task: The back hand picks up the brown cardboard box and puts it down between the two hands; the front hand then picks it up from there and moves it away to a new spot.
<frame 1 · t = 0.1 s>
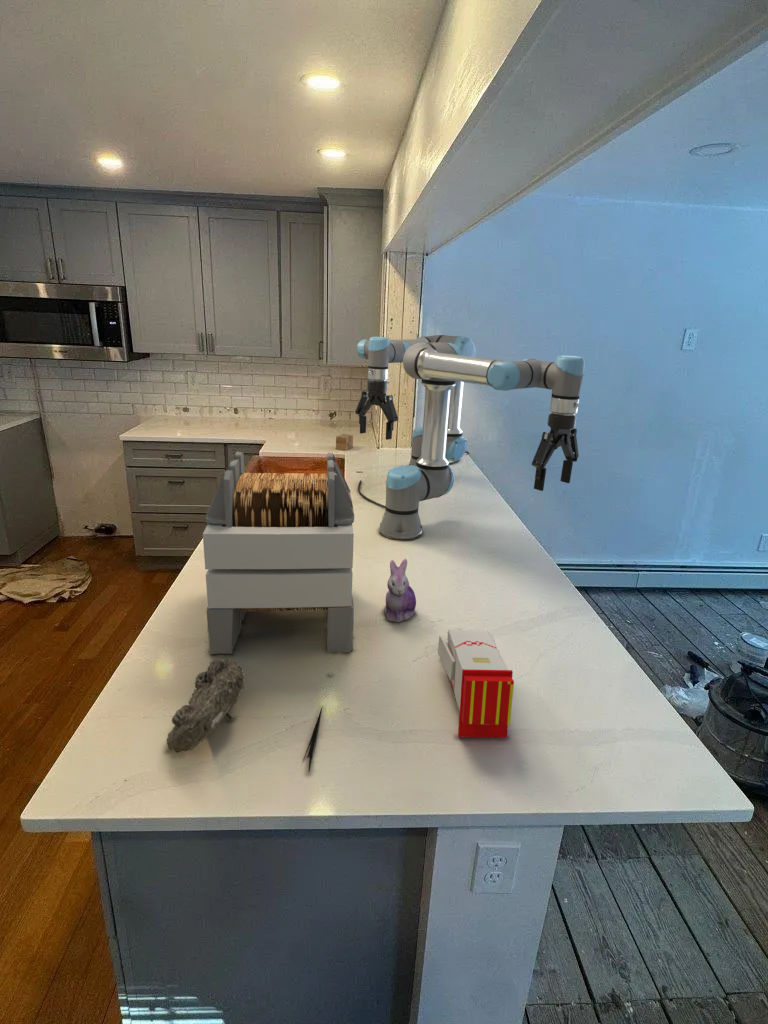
front hand: (552, 485, 166), 28 cm above the counter, tool pointing down, fingers open, 13 cm apart
back hand: (375, 436, 219), 28 cm above the counter, tool pointing down, fingers open, 13 cm apart
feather: (319, 719, 109), on the counter
figurine: (399, 614, 147), on the counter
fossil: (212, 717, 108), on the counter
toy: (469, 691, 119), on the counter
brown cardboard box: (344, 448, 317), on the counter
grey record crate: (285, 616, 144), on the counter
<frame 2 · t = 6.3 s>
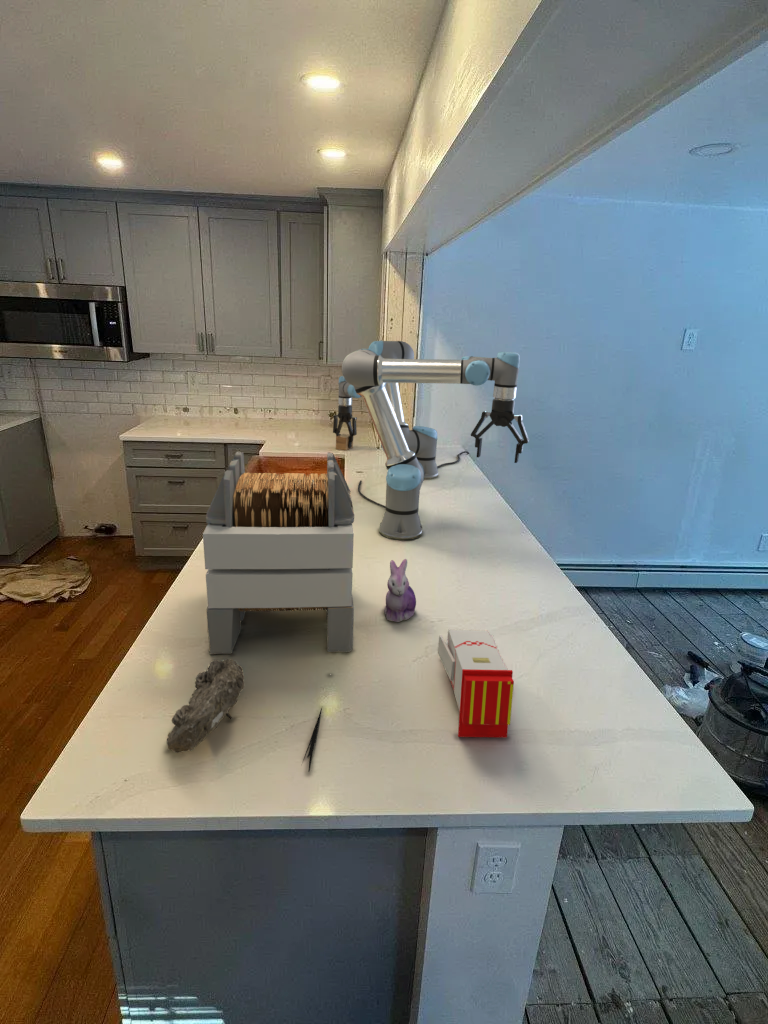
front hand: (497, 459, 201), 26 cm above the counter, tool pointing down, fingers open, 13 cm apart
back hand: (344, 446, 316), 1 cm above the counter, tool pointing down, fingers closed on brown cardboard box, 6 cm apart
brown cardboard box: (344, 448, 317), on the counter, touching back hand
everything else where it was.
when the back hand's fingers open (2 cm above the counter, at t = 16.7 s): brown cardboard box drops 1 cm, on the counter.
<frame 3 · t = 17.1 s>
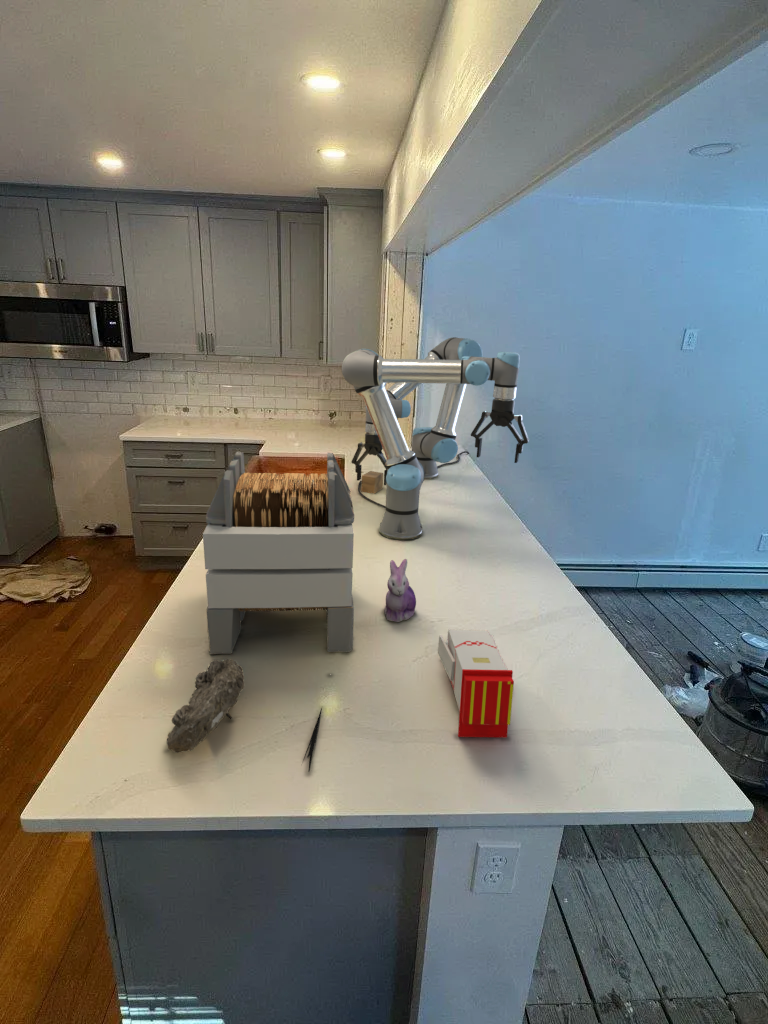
front hand: (497, 459, 201), 26 cm above the counter, tool pointing down, fingers open, 13 cm apart
back hand: (372, 482, 245), 4 cm above the counter, tool pointing down, fingers open, 12 cm apart
brown cardboard box: (372, 489, 247), on the counter
everything else where it was.
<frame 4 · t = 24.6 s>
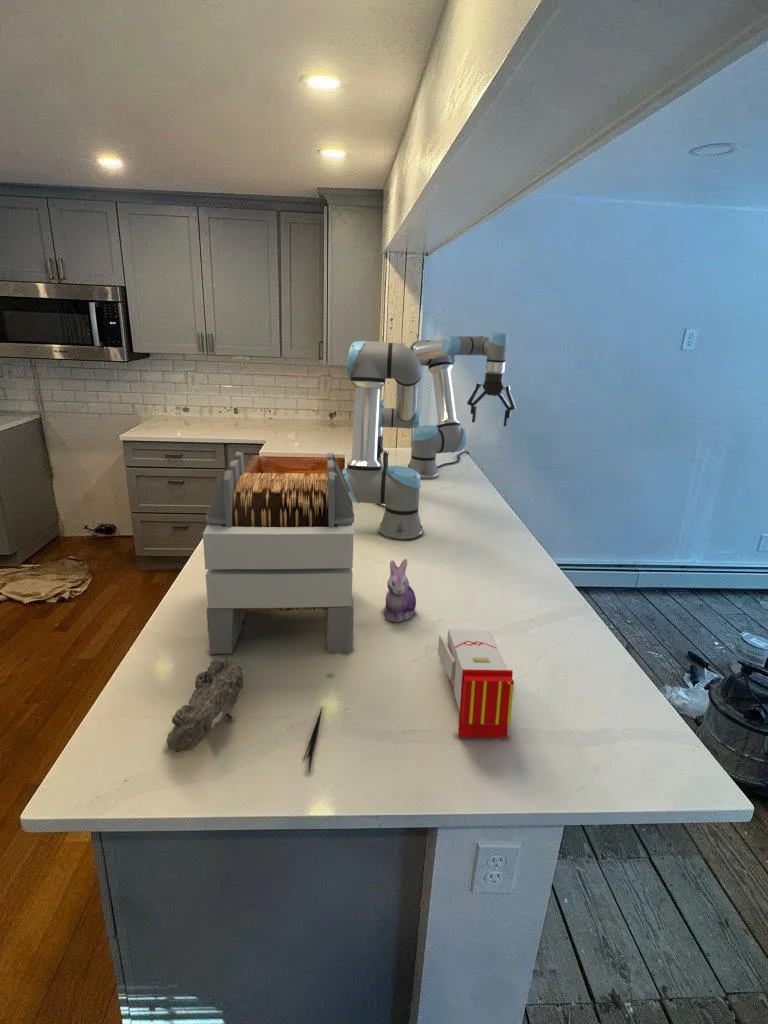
front hand: (372, 487, 246), 1 cm above the counter, tool pointing down, fingers closed on brown cardboard box, 6 cm apart
back hand: (489, 423, 240), 30 cm above the counter, tool pointing down, fingers open, 13 cm apart
brown cardboard box: (372, 489, 247), on the counter, touching front hand
everything else where it was.
when the front hand's fingers open (2 cm above the counter, at t = 31.4 s): brown cardboard box drops 1 cm, on the counter.
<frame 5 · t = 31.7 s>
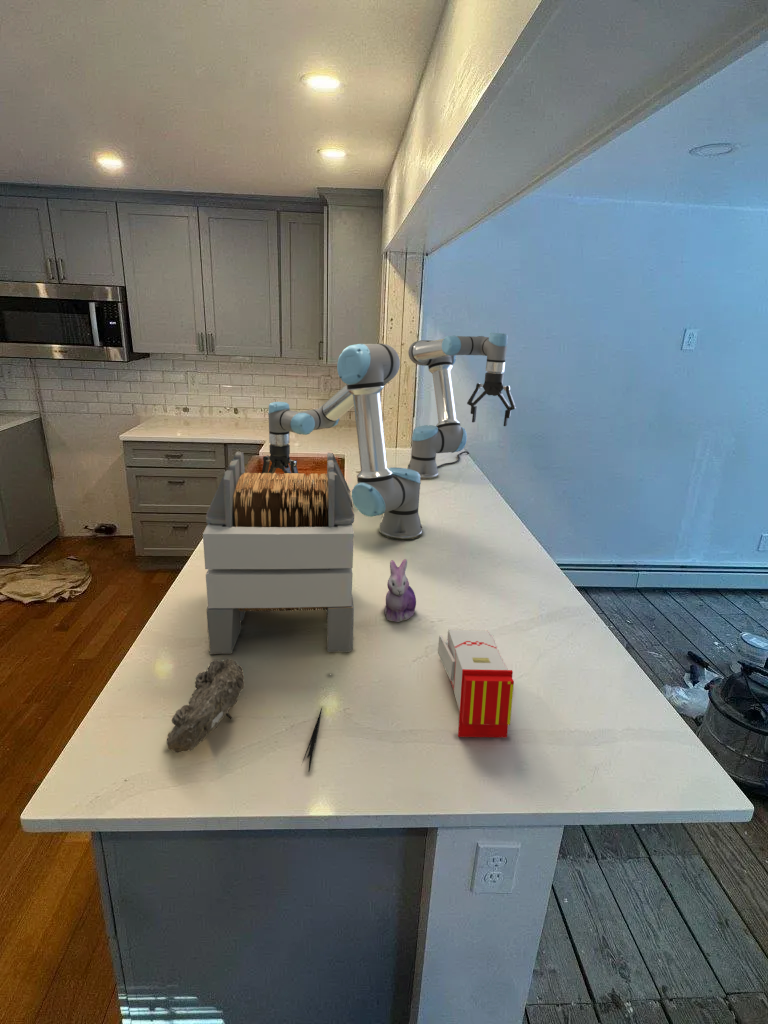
front hand: (280, 500, 220), 3 cm above the counter, tool pointing down, fingers open, 9 cm apart
back hand: (489, 423, 240), 30 cm above the counter, tool pointing down, fingers open, 13 cm apart
brown cardboard box: (281, 507, 221), on the counter
everything else where it was.
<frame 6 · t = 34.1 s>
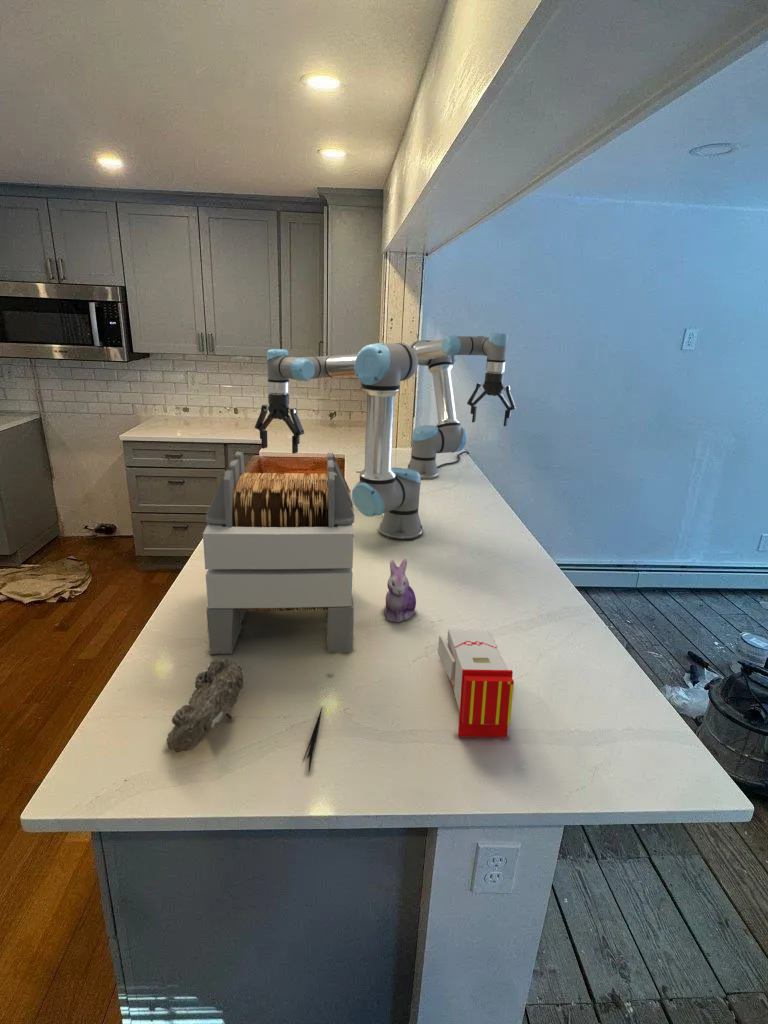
front hand: (279, 450, 213), 23 cm above the counter, tool pointing down, fingers open, 13 cm apart
back hand: (489, 423, 240), 30 cm above the counter, tool pointing down, fingers open, 13 cm apart
nothing on the counter moved.
at the end: brown cardboard box inside the target area (0.1 cm from its centre), on the counter; brown cardboard box tilted 0°; the two hands never held the brown cardboard box at the same time; the front hand is holding nothing; the back hand is holding nothing; brown cardboard box at rest at the end (0.0 cm/s) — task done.
